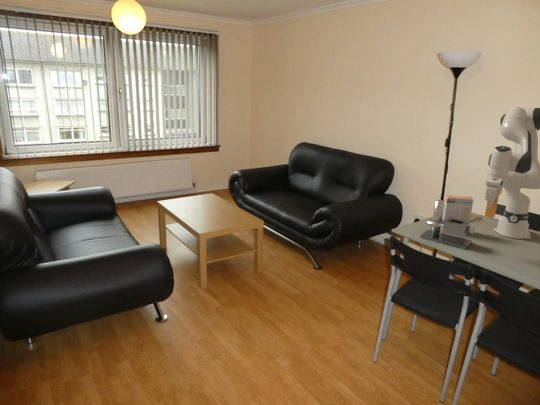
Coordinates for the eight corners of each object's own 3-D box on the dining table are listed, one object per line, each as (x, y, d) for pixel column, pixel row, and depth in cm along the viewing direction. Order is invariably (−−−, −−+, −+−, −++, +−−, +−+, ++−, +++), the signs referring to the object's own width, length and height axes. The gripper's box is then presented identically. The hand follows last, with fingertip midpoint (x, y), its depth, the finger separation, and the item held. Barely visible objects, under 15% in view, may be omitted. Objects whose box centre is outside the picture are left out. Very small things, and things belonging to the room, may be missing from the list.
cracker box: (465, 230, 234) (471, 196, 228) (467, 233, 228) (474, 199, 222) (440, 227, 237) (445, 194, 231) (442, 231, 232) (447, 197, 225)
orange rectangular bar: (486, 214, 204) (491, 188, 199) (494, 216, 201) (499, 190, 197) (484, 216, 201) (489, 189, 197) (493, 217, 199) (498, 191, 195)
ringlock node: (427, 231, 230) (432, 196, 224) (473, 243, 215) (480, 205, 208) (420, 237, 221) (425, 201, 215) (467, 250, 206) (474, 211, 200)
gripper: (494, 174, 205) (489, 200, 209) (484, 182, 190) (479, 209, 194) (508, 176, 201) (502, 202, 205) (499, 184, 186) (494, 211, 190)
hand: (491, 205), depth 200 cm, fingers closed on orange rectangular bar, 3 cm apart
